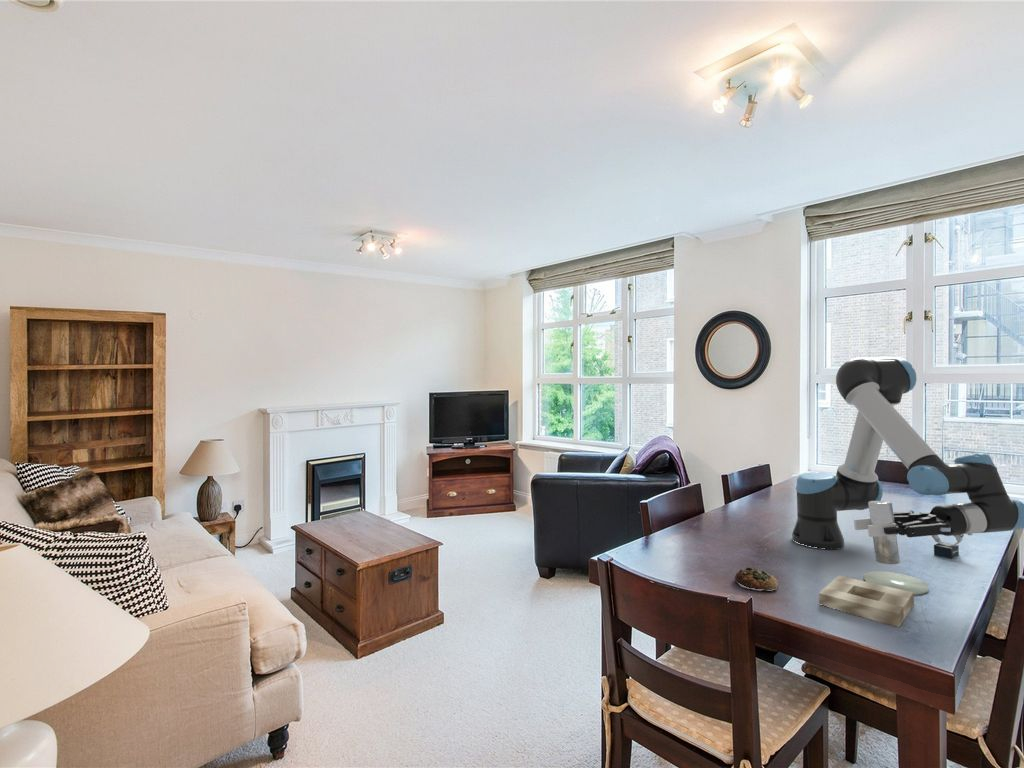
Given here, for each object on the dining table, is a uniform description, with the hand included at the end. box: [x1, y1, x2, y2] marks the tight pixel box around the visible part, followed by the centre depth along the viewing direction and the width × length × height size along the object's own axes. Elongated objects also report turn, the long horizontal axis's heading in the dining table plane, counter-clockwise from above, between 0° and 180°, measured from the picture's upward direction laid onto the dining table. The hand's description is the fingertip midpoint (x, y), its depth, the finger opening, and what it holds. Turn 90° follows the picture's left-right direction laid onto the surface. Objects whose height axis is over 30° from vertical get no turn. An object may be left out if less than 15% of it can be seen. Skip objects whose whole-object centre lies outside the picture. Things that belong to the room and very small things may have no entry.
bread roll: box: [734, 566, 779, 591], centre depth 139 cm, size 11×11×5 cm
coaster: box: [863, 570, 930, 596], centre depth 136 cm, size 14×14×1 cm
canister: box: [868, 500, 901, 565], centre depth 130 cm, size 5×5×15 cm
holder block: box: [818, 575, 915, 628], centre depth 124 cm, size 16×16×3 cm
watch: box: [931, 534, 965, 560], centre depth 157 cm, size 6×8×11 cm
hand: (862, 527), depth 130 cm, fingers closed on canister, 5 cm apart
